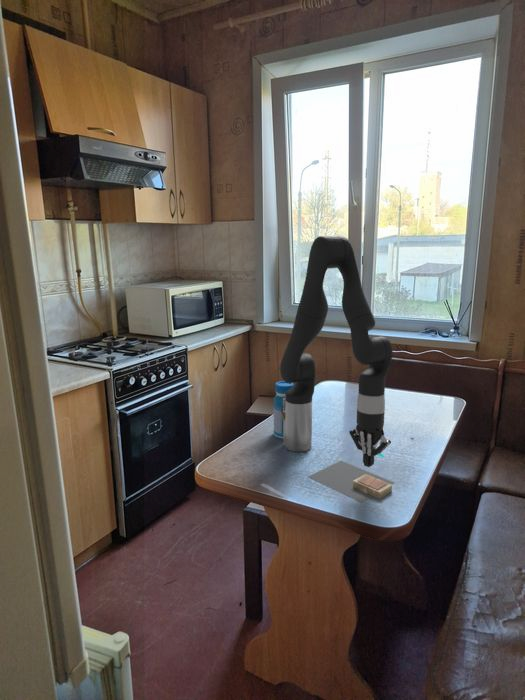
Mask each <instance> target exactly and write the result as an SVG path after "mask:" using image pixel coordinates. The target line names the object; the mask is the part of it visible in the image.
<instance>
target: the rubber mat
mask: <svg viewBox="0 0 525 700" xmlns="http://www.w3.org/2000/svg"><path fill="white" fill-rule="evenodd" d="M365 474H367V475H369V476H372V477H374V478H377V479H379V480H381V481H384V482H386V483H389V484H391V485H392V486H393V484H395V482H394V481H392V480H389V479H387V478H385V477H382V476H379V475H378V474H376V473H375V474H374V473H373V472H370V471H367V470H366V469H362V468H360V467H358V466H355V465H353V464H350V463H348V462H346V461H344V460H338V461H337V462H335V463H333V464H331V465H329V466H326V467H325V468H323V469H320V470H319V471H317V472H314V473H313V474H311V475H308V476H307V478H309V479H310V480H313V481H316V482H318V483H320V484H321V485H324V486H326V487H328V488H330V489H332V490H334V491H337V492H339V493H340V494H343V495H345V496H347V497H349V498H350V499H353V500H356V501H358V502H359V503H361V504H362V503H366V501H368V500H369V499H371V498H373V497H374V496H372V495H369V494H367V493H365V492H363V491H361V490H358V489H356V488H354V487H353V481H354V480H356V479H357V478H359V477H361V476H363V475H365Z"/></svg>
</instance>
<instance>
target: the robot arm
mask: <svg viewBox="0 0 525 700" xmlns="http://www.w3.org/2000/svg"><path fill="white" fill-rule="evenodd" d="M328 269H337V270H338V271H339V272H340V274H341V277H342V279H343V280H342V281H343V287H342V288H343V289H342V298H341V307H342V311H343V314H344V317H345V319H346V321H347V325H348V326H349V330H350V337H351V345H352V346H351V347H352V353H353V357H354V358H355V360H356V361H357V362H358V363H359V364H361V365H363V366H368V368H367V369H365V370H364V371H363V370H362V372H361V373H360V374H359V376H358V394H357V399H356V400H357V401H356V425H355V428H353V429H351V430H349V432H348V433H349V435H350V437H351V439H352V440H353V443H354V445H355V446H356V448H357V450H358V451H361V453H362V463H363V466H364V467H366V468H371V467H373V465H374V464H375V456H378V455H377V454H382V452H383V451H384V450H386V449H387V447H389V446H390V445H391V444H392V443H391V442H392V441H391V440H390V439H387V438H386V437H385V431H384V426H385V413H386V411H385V410H386V406H385V405H386V399H385V395H386V394H385V392H386V391H385V390H386V379H387V375H388V372H389V370H390V366H391V362H392V359H393V355H394V354H393V352H394V351H393V346H392V342H391V341H390V339H388V338H387V337H386V336H374V337H370V336H369V332H370V331H371V330H372V329H374V327H375V325H376V320H375V318H374V315H373V312H372V310H371V307H370V306H369V304H368V301H367V300H368V299H367V298H366V295H365V292H364V290H363V286H362V282H361V277H360V272H359V268H358V265H357V260H356V256H355V251H354V249H353V246H352V243H351V242H350V239H348V237H346V236H344V235H320V236H317V237H316V238H315V239H314V240H313V242H312V244H311V246H310V250H309V256H308V262H307V268H306V273H305V281H304V285H303V289H302V293H301V295H300V296H301V298H300V301H299V303H298V306H297V311H296V314H295V317H294V323H293V326H292V327H293V328H292V330H291V333H290V337H289V339H288V343H287V345H286V347H285V349H284V350H285V351H284V352H283V355H282V359H281V362H280V366H279V367H280V368H279V370H280V371H279V373H280V377H281V380H282V381H285V382H287V383H293V385H294V386H293V387H292V388H291V389H289V390H288V391H287V392H286V394H285V419H284V420H283V438H282V441H283V446H285V448H286V449H287V450H288V451H291V452H294V453H295V452H297V453H301V452H307V451H310V450H311V449H312V442H313V441H312V440H313V439H312V435H313V397H314V396H313V395H314V394H315V382H316V363H315V360H314V358H313V356H312V355H311V354H310V353H304V352H305V350H306V349H307V348H308V346H309V345H310V344H311V343H312V342H313V341H314V339H315V338H316V337H317V336H319V334H320V333H321V331H322V330H323V328H324V325H325V322H326V319H327V316H328V311H329V303H328V299H327V297H326V294H325V290H324V282H325V281H324V280H325V276H326V273H327V270H328ZM294 383H295V384H294ZM378 443H379V445H378Z"/></svg>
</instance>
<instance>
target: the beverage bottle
mask: <svg viewBox="0 0 525 700" xmlns="http://www.w3.org/2000/svg"><path fill="white" fill-rule="evenodd" d="M294 385H295V384H294V383H287V382H285V381H284V380H279V381H277V382H275V385H274V389H275V390H274V391H275V393H276V394H275V396H274V398H273V399H272V401H273V406H272V411H273V435H274V437H276V438H279V439H283V420H284V419H285V394H286V392H287V391H288V390H289V389H291V388H292V387H293V386H294Z"/></svg>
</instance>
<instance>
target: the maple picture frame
mask: <svg viewBox="0 0 525 700" xmlns="http://www.w3.org/2000/svg"><path fill="white" fill-rule="evenodd" d="M353 487H354V488H356V489H358V490H361V491H363V492H365V493H367V494H369V495H372V496H373V497H374V498H377V499H379V500H380V499H383V498H384V497H385V496H387V495H388V494H391V492H392V491H393V484H392V485H391V484H389V483H386V482H384V481H381V480H379V479H377V478H374V477H372V476H369V475H367V474H365V475H363V476H361V477H359V478H357V479H356V480H354V481H353Z"/></svg>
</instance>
